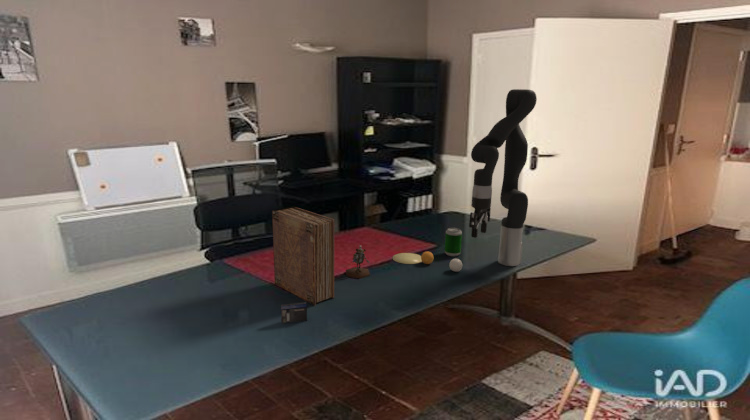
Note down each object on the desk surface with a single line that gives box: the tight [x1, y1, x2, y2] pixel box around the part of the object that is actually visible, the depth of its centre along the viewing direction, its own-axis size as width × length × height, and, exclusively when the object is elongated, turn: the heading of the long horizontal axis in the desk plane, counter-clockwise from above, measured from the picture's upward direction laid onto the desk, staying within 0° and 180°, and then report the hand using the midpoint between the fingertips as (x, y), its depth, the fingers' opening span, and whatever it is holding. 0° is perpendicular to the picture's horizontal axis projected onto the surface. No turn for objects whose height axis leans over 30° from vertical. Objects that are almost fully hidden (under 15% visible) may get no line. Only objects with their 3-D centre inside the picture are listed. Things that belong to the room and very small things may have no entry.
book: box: [271, 206, 335, 307], centre depth 180 cm, size 25×9×30 cm, turn 44°
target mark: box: [392, 252, 423, 265], centre depth 221 cm, size 14×14×1 cm
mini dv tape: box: [280, 301, 308, 324], centre depth 160 cm, size 8×2×6 cm, turn 106°
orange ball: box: [420, 251, 434, 265], centre depth 214 cm, size 6×6×6 cm
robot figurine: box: [345, 245, 371, 280], centre depth 200 cm, size 11×9×12 cm
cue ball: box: [448, 258, 463, 273], centre depth 206 cm, size 6×6×6 cm
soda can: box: [444, 227, 463, 257], centre depth 226 cm, size 8×8×12 cm
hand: (478, 234), depth 197 cm, fingers open, 8 cm apart
